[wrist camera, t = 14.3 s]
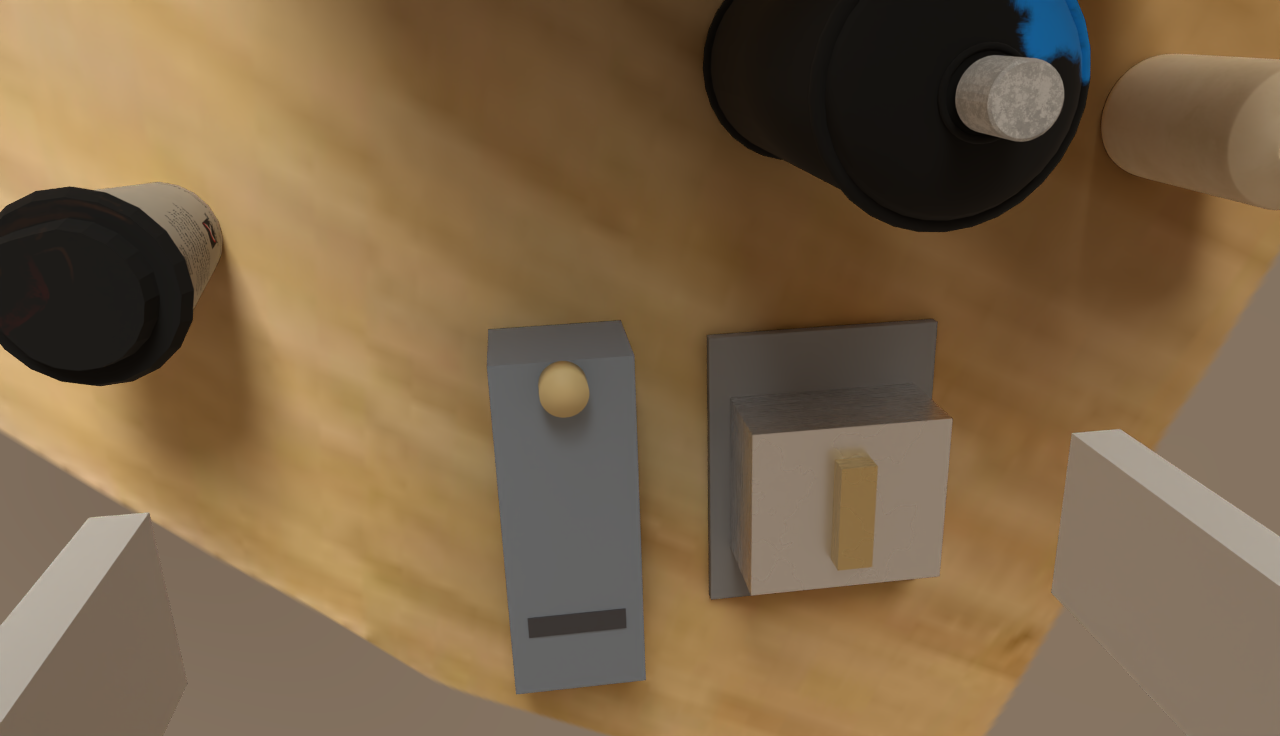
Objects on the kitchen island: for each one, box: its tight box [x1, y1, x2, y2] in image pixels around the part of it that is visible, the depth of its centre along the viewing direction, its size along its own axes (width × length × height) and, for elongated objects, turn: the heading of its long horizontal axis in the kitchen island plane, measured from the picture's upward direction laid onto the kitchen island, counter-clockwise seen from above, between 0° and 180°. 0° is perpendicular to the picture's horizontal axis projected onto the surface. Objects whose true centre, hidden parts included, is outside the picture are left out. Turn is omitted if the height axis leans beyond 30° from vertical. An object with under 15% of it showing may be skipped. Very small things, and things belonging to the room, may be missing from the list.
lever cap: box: [730, 383, 953, 595], centre depth 46 cm, size 8×9×6 cm
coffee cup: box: [0, 182, 223, 386], centre depth 37 cm, size 7×7×10 cm
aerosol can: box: [703, 0, 1090, 232], centre depth 33 cm, size 8×8×20 cm
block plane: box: [487, 320, 646, 694], centre depth 45 cm, size 16×6×6 cm, turn 2°
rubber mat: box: [707, 319, 938, 600], centre depth 49 cm, size 14×11×1 cm
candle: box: [1101, 54, 1280, 210], centre depth 41 cm, size 6×6×10 cm
